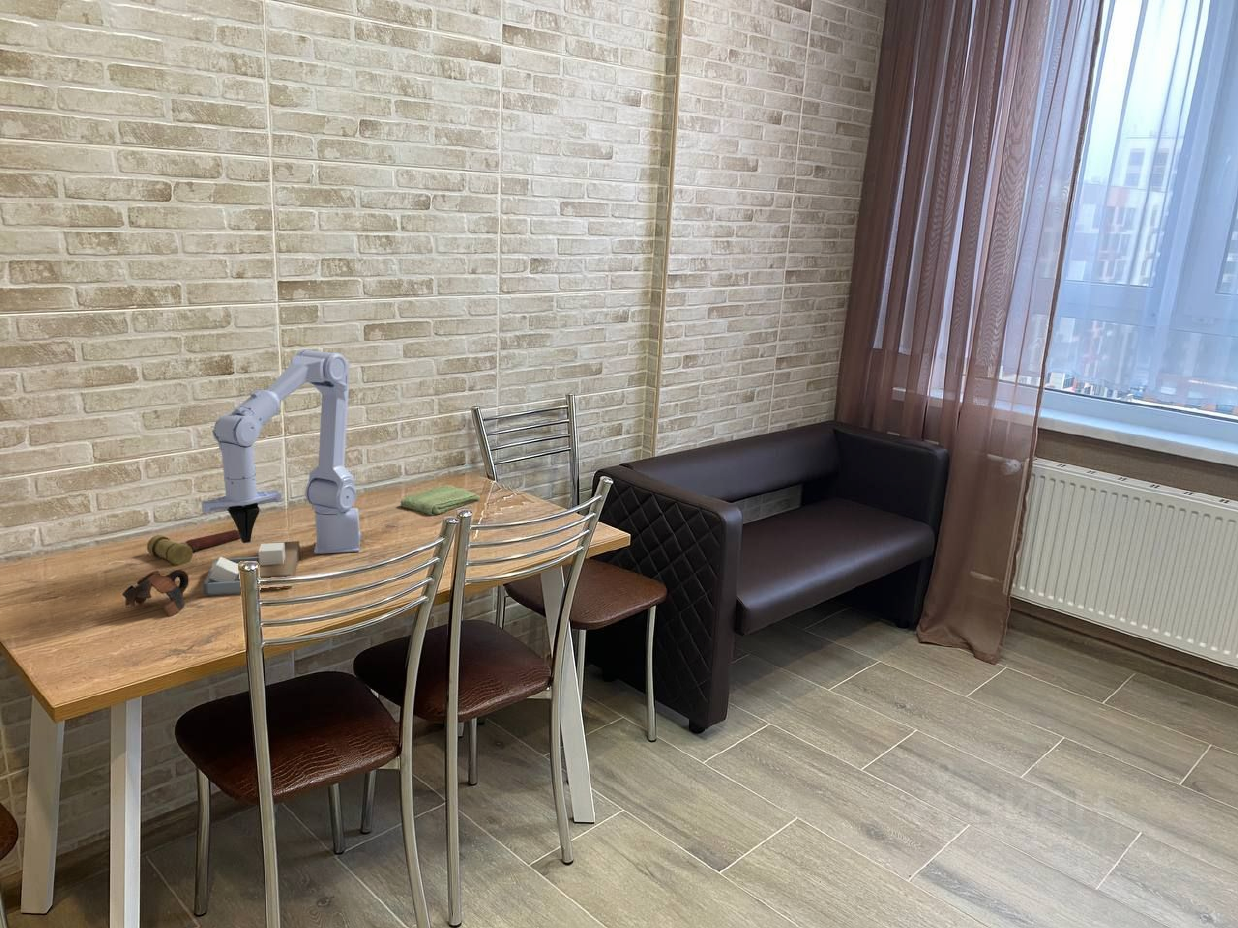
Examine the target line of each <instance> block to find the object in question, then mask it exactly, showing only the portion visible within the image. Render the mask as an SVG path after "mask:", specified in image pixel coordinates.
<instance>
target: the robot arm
mask: <svg viewBox="0 0 1238 928" xmlns="http://www.w3.org/2000/svg"><path fill="white" fill-rule="evenodd" d="M349 377H350V362H349V361H348V360H347V358H345V356H344V355H343V354H341V353H340V352H329V351H319V350H311V349H307V348H304V349H300V350H299V351H298V352H297V353H296V354H295V355H294V356H292V357H291V359H290V365H289V366H288V367H287V368H286V369H285V370H284V371H283V373H281V374H280V375H279V376H278V377H277V378H276V379H275V381H273V383H272V384H271V385H270V386H269V387H268V388H267V389H266V390H265V389H258V390H253V391H251V392H250V394H249V395H250V396H249V397H248V398H247V399H246V400H244V402H242V403H241V404H240V405H239V406H237V407H234V410H233V411H232V412H231V413H225V414H222V415H221V416H220V417H218V418H217V419H216V421H215V423H214V427H213V428H214V429H213V430H212V431H211V433H212V436H213V438H214V440H215V441H216V442H217V444H218V446H219V447H218V449H219V450H220V451H221V457H222V468H223V469H222V470H223V478H224V479H223V481H224V491H225V495H224V496H220V497H216V498H212V499H208V500H202V501H200V503H201V511H202V513H203V514H210V513H211V512H218V511H224V510H227V511H228V513H229V515H230V517H231V518H232V519H233V522H234V524H235V526H236V529H237V530H238V531H239V534H240V541H241V542H242V544H248V543H251V542H252V540H251V539H252V534H253V528H254V526H255V523H256V520H257V518H258V516H259V515H260V510H261V509H260V507H259V505H263V504H269V503H270V504H271V503H282V502H283V499H282V492H281V491H280V490H279V489H277V490H267V491H258V487H257V476H256V473H257V472H256V463H255V462H256V460H255V452H254V451H255V450H254V444H255V443H256V442H257V441H258V439H259V436H260V434H261V433H260V432H261V431H262V430H263V427H264V426H265V425H266V424H267V423H268V422H269V421H270V420H272V418H273V417H274V416H275V415H276V414H278V413H279V411H280V408H281V407H280V406H281V404H280V403H281V402H282V401H284V400H285V399H286V398H287V397H289V396H290V395H291V394H293V393H294V392H295V391H296V390H298V389H299V388H300V387H302V386H303V385H304V384H305V383H309V384H311V385H313V387H315V388H316V390H318V392H319V393H320V394H321V410H320V411H321V414H320V432H319V448H318V449H319V451H318V465H317V467H315V468H314V469H313V470H311V471H310V472H309V474H308V482H307V484H306V487H305V493H304V494H305V495H304V496H305V500H306V501H307V502H308V504H310V505H311V509H312V510H313V511H314V518H315V519H314V520H315V533H316V541H315V546H314V549H313V550H314V551H313V553H314V555H317V554H318V555H319V554H336V553H351V552H352V553H353V552H359V551H360V547H361V546H360V543H361V540H362V533H361V532H360V519H359V517H360V516H359V508H358V507H353V506H354V504H355V503H356V499H357V498H356V497H357V491H356V487H355V477H354V475H353V474H352V473H351V472H350V470H348V468H346V467H345V460H346V444H347V443H346V442H347V427H348V412H349V392H350V386H349V385H350V384H349Z"/></svg>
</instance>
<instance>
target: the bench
mask: <svg viewBox="0 0 1238 928" xmlns="http://www.w3.org/2000/svg"><path fill="white" fill-rule="evenodd" d="M266 543H267V542H265V543H264V544H266ZM274 543H284V544H285V559H284V563H283V564H275V565H260V562H258V563H259V565H260V577H261V578H271V577H287V576H295V577H296V573H295V572H297V569H296V567H297V568H298V564H299V561H300V556H301V549H300V540H297V541H296V540H295V541H280V542H279V541H277V542H274ZM297 563H298V564H297ZM277 588H291V589H292V588H293V585H292V586H283V587H269V588H261V591H273V590H275V591H276V590H278V589H277Z"/></svg>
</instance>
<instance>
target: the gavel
mask: <svg viewBox="0 0 1238 928" xmlns="http://www.w3.org/2000/svg"><path fill="white" fill-rule="evenodd" d="M238 540H241V538H240V534H239V531H238V529H233V530H232V529H231V530H229V531H223V532H219V533H215V534H214V533H213V534H209V535H205V536H201V537H197V538H196V537H195V538H193V539H192V538H191V539H189V540H186V541H182V542H175V541H173V540H171V539H170V538H169V537H167V536H164V535H163V534H162V535H161V534H157V535H154V536H152V537H151V538H149V540H148V542H147V545H146V548H147V549H146V550H147V552H148V553H149V554H150V555H151V556H153V557H156V558H158V557H160V558H162V559H165V560H167V561H169V563H171V564H172V565H175V566H177V567H178V566H181V565H184V564H188V563H190V562H191V560H192V558H193V556H194V555H193V553H194V552H195V551H200V550H202V549H206V548H213V547H215V546H220V545H223V544H228V543H230V542H231V543H232V542H236V541H238Z"/></svg>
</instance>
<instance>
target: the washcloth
mask: <svg viewBox="0 0 1238 928" xmlns="http://www.w3.org/2000/svg"><path fill="white" fill-rule="evenodd" d="M479 500H481V497H480V496H479V495H478V494H476V493H474V492H472V491H468V490H466V489H464V488H463V487H462V488H458V487H455V486H453V485H452V484H447V485H446V484H445V485H439V486H438V485H437V486H434V487H432V488H430V489H427V490H424V491H422V492H417V493H413V494H410V495H407V496H405V497H403V498H402V499H401V500H400V503H399V504H400V505H401V507H403V508H405V509H410V510H412V511H417V512H421V513H422V514H426V515H428V516H437V515H441V514H445V513H447V512H449V511H453V510H455V509H458V508H460V507H464V506H465V505H469V504H471V503H474V502H476V501H479Z"/></svg>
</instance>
